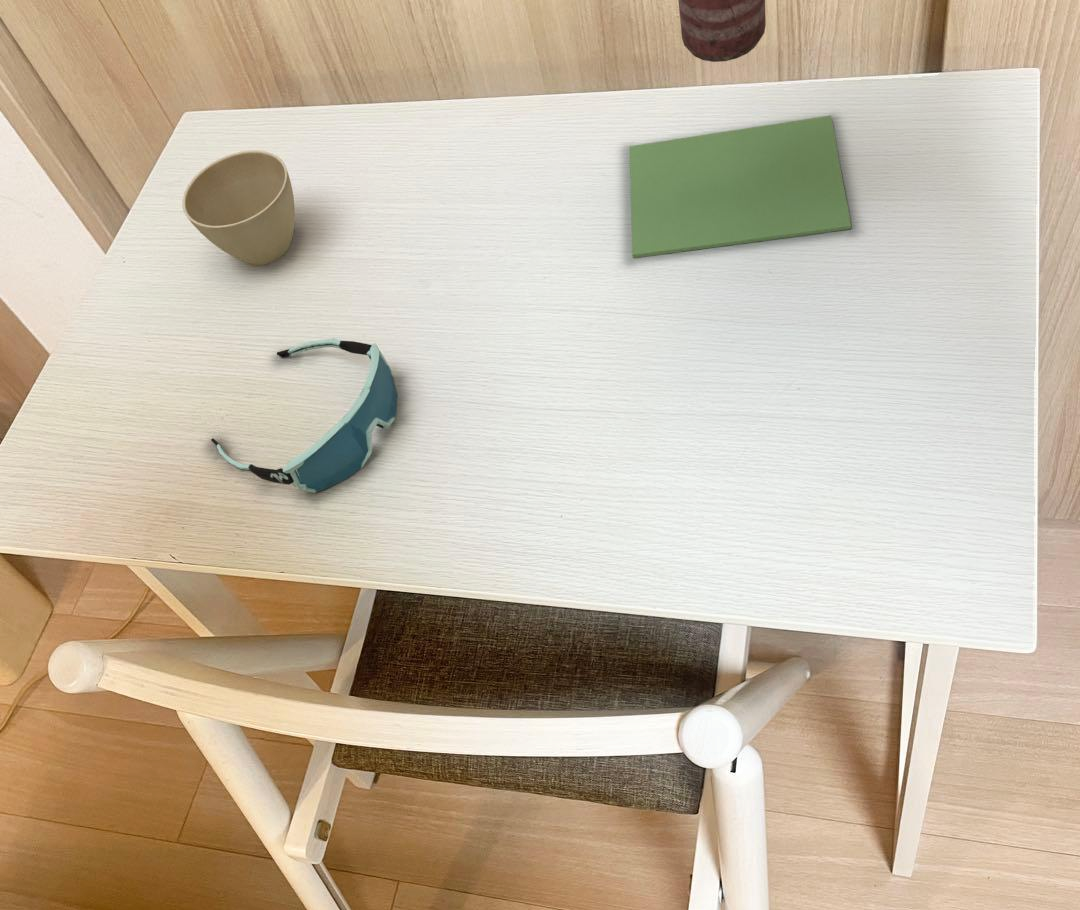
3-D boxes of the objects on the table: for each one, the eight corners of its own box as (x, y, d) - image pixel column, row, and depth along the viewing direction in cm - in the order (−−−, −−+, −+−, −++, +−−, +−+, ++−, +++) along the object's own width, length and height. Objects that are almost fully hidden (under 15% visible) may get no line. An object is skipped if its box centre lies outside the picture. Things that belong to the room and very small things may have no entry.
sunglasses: (340, 515, 80) (309, 477, 76) (212, 475, 87) (177, 438, 84) (431, 379, 85) (406, 337, 81) (303, 353, 93) (274, 313, 89)
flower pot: (236, 301, 95) (199, 243, 89) (206, 241, 101) (169, 183, 95) (331, 251, 96) (301, 190, 90) (297, 195, 102) (266, 134, 96)
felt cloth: (830, 119, 92) (831, 115, 91) (851, 229, 85) (851, 225, 84) (630, 149, 95) (629, 146, 95) (633, 258, 88) (632, 254, 88)
